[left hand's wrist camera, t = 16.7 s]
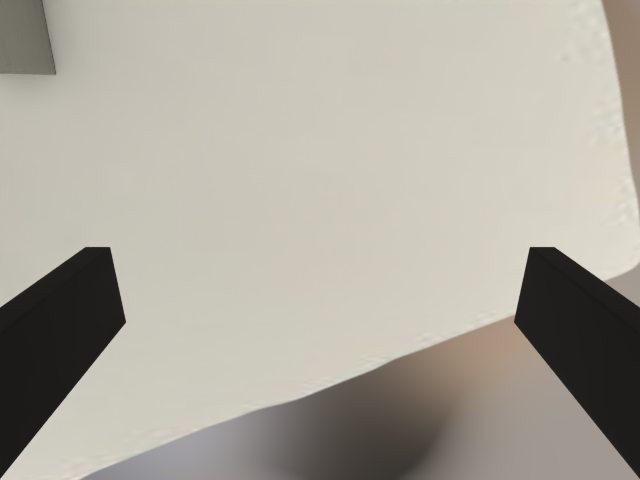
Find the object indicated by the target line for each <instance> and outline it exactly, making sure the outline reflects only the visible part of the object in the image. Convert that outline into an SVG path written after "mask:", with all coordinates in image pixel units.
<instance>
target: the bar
mask: <svg viewBox="0 0 640 480" xmlns="http://www.w3.org/2000/svg"><path fill="white" fill-rule="evenodd" d="M0 73H4V74H44V75H55V74H56V73H55V68H54V62H53V57H52V52H51V47H50V42H49V37H48V31H47V26H46V21H45V16H44V11H43V6H42V0H0Z"/></svg>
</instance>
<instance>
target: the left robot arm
mask: <svg viewBox="0 0 640 480" xmlns="http://www.w3.org/2000/svg"><path fill="white" fill-rule="evenodd" d="M125 323H126V320H125V315H124V310H123V306H122V301H121V296H120V292H119V287H118V282H117V278H116V273H115V268H114V263H113V259H112V254H111V249H110V247H85V248H84V249H82V250H81V251H79V252H78V253H77V254H75V255H74V256H72V257H71V258H70V259H68V260H67V261H65V262H64V263H62V264H61V265H60V266H58V267H57V268H55V269H54V270H53V271H51V272H50V273H48V274H47V275H46V276H44V277H43V278H41V279H40V280H38V281H37V282H36V283H34V284H33V285H31V286H30V287H29V288H27V289H26V290H24V291H23V292H22V293H20V294H19V295H17V296H16V297H14V298H13V299H12V300H10V301H9V302H7V303H6V304H5V305H3V306H2V307H0V478H1V477H2V476H3V475H4V473H5V472H6V471H7V470H8V468H9V467H10V466H11V465H12V463H13V462H14V461H15V460H16V458H17V457H18V456H19V455H20V454H21V452H22V451H23V450H24V449H25V447H26V446H27V445H28V444H29V442H30V441H31V440H32V439H33V437H34V436H35V435H36V434H37V432H38V431H39V430H40V429H41V427H42V426H43V425H44V424H45V422H46V421H47V420H48V419H49V417H50V416H51V415H52V414H53V412H54V411H55V410H56V409H57V407H58V406H59V405H60V404H61V403H62V401H63V400H64V399H65V398H66V396H67V395H68V394H69V393H70V391H71V390H72V389H73V388H74V386H75V385H76V384H77V383H78V381H79V380H80V379H81V378H82V376H83V375H84V374H85V373H86V371H87V370H88V369H89V368H90V366H91V365H92V364H93V363H94V361H95V360H96V359H97V358H98V357H99V355H100V354H101V353H102V352H103V350H104V349H105V348H106V347H107V345H108V344H109V343H110V342H111V340H112V339H113V338H114V337H115V335H116V334H117V333H118V332H119V330H120V329H121V328H122V327H123V325H124V324H125ZM514 323H515V324H516V325H517V327H518V328H519V329H520V330H521V332H522V333H523V334H524V335H525V337H526V338H527V339H528V340H529V342H530V343H531V344H532V345H533V347H534V348H535V349H536V350H537V352H538V353H539V354H540V355H541V357H542V358H543V359H544V360H545V361H546V363H547V364H548V365H549V366H550V368H551V369H552V370H553V371H554V372H555V374H556V375H557V376H558V378H559V379H560V380H561V381H562V383H563V384H564V385H565V386H566V388H567V389H568V390H569V391H570V392H571V394H572V395H573V396H574V398H575V399H576V400H577V401H578V403H579V404H580V405H581V406H582V407H583V409H584V410H585V411H586V412H587V414H588V415H589V416H590V417H591V419H592V420H593V421H594V422H595V424H596V425H597V426H598V427H599V429H600V430H601V431H602V432H603V434H604V435H605V436H606V437H607V439H608V440H609V441H610V442H611V444H612V445H613V446H614V447H615V449H616V450H617V451H618V452H619V453H620V455H621V456H622V457H623V458H624V460H625V461H626V462H627V463H628V465H629V466H630V467H631V468H632V470H633V471H634V472H635V473H636V475H637V476H638V477H639V478H640V307H638V306H637V305H635V304H634V303H633V302H631V301H630V300H628V299H627V298H626V297H624V296H623V295H621V294H620V293H618V292H617V291H616V290H614V289H613V288H611V287H610V286H609V285H607V284H606V283H604V282H603V281H602V280H600V279H599V278H597V277H596V276H594V275H593V274H592V273H590V272H589V271H587V270H586V269H585V268H583V267H582V266H580V265H579V264H578V263H576V262H575V261H573V260H572V259H570V258H569V257H568V256H566V255H565V254H563V253H562V252H561V251H559V250H558V249H556V248H555V247H530V249H529V254H528V259H527V263H526V268H525V273H524V278H523V282H522V287H521V292H520V296H519V301H518V306H517V310H516V315H515V320H514Z"/></svg>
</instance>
